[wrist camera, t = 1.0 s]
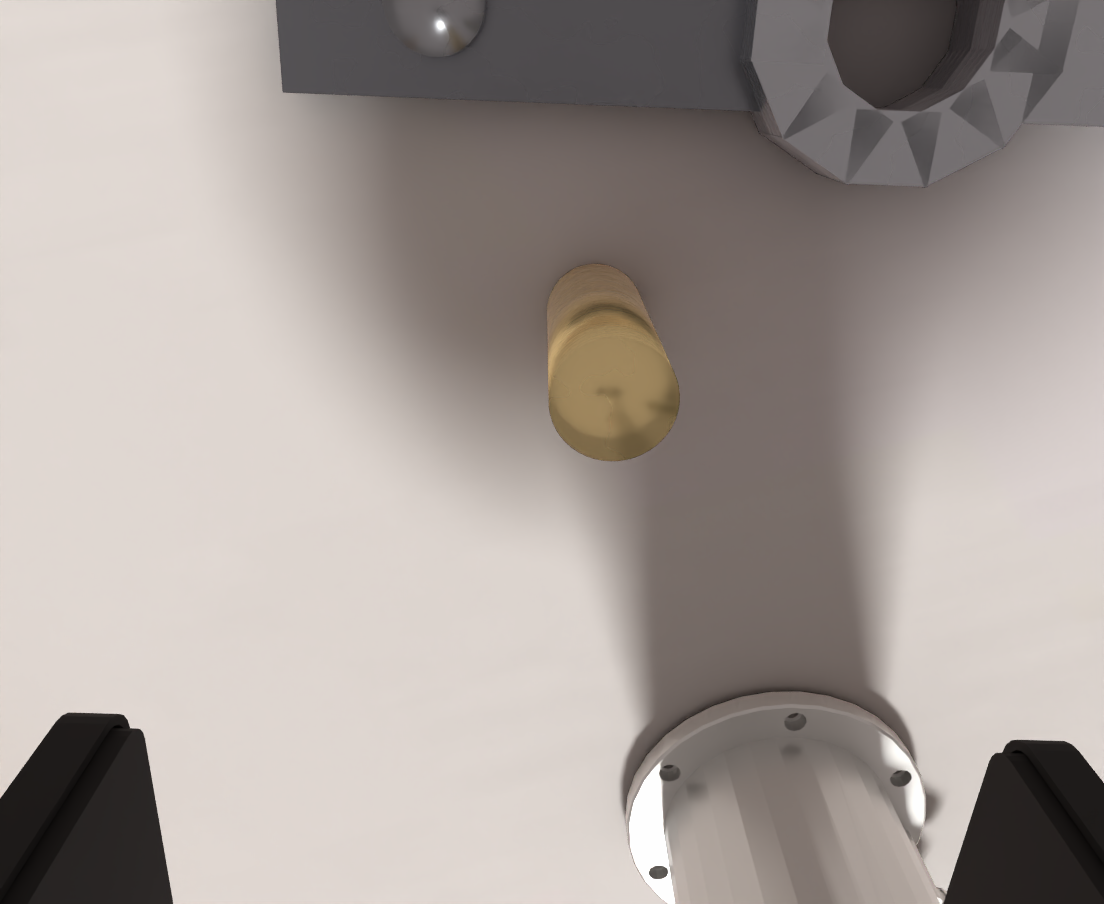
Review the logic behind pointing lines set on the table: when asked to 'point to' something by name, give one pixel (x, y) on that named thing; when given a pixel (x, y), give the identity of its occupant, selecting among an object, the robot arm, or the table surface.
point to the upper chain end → (941, 118)
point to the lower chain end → (542, 52)
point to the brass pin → (607, 367)
